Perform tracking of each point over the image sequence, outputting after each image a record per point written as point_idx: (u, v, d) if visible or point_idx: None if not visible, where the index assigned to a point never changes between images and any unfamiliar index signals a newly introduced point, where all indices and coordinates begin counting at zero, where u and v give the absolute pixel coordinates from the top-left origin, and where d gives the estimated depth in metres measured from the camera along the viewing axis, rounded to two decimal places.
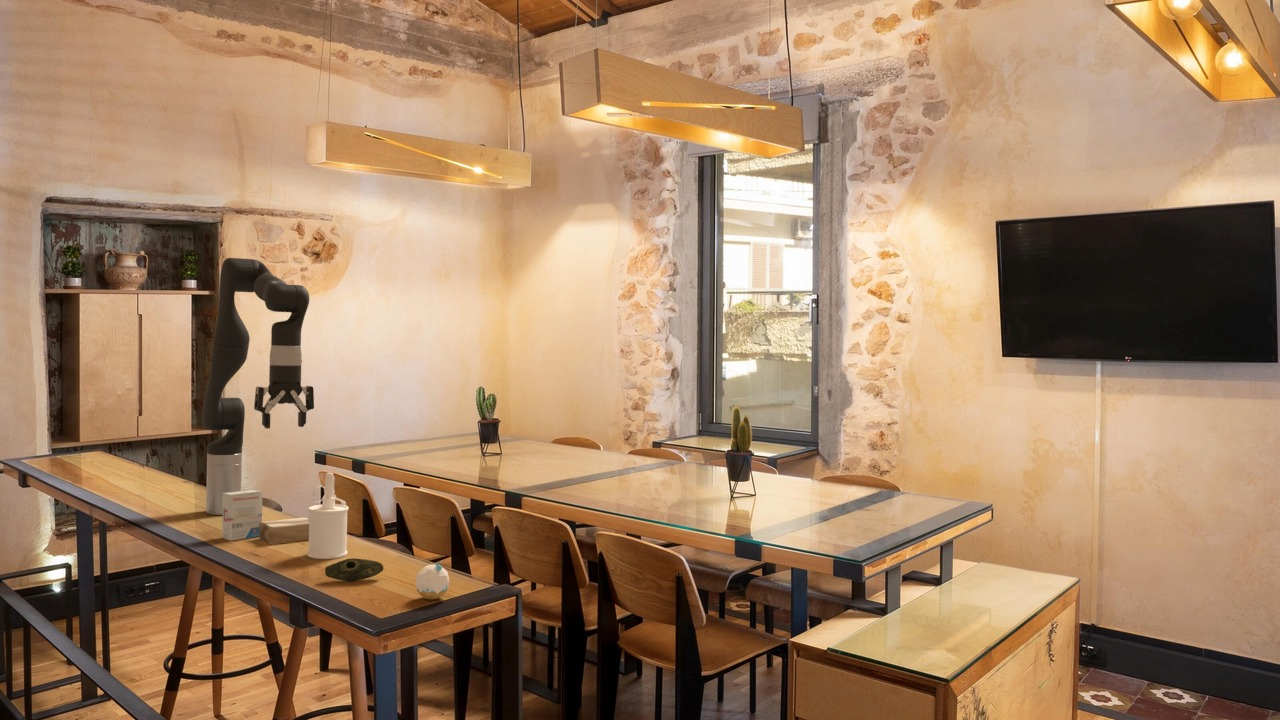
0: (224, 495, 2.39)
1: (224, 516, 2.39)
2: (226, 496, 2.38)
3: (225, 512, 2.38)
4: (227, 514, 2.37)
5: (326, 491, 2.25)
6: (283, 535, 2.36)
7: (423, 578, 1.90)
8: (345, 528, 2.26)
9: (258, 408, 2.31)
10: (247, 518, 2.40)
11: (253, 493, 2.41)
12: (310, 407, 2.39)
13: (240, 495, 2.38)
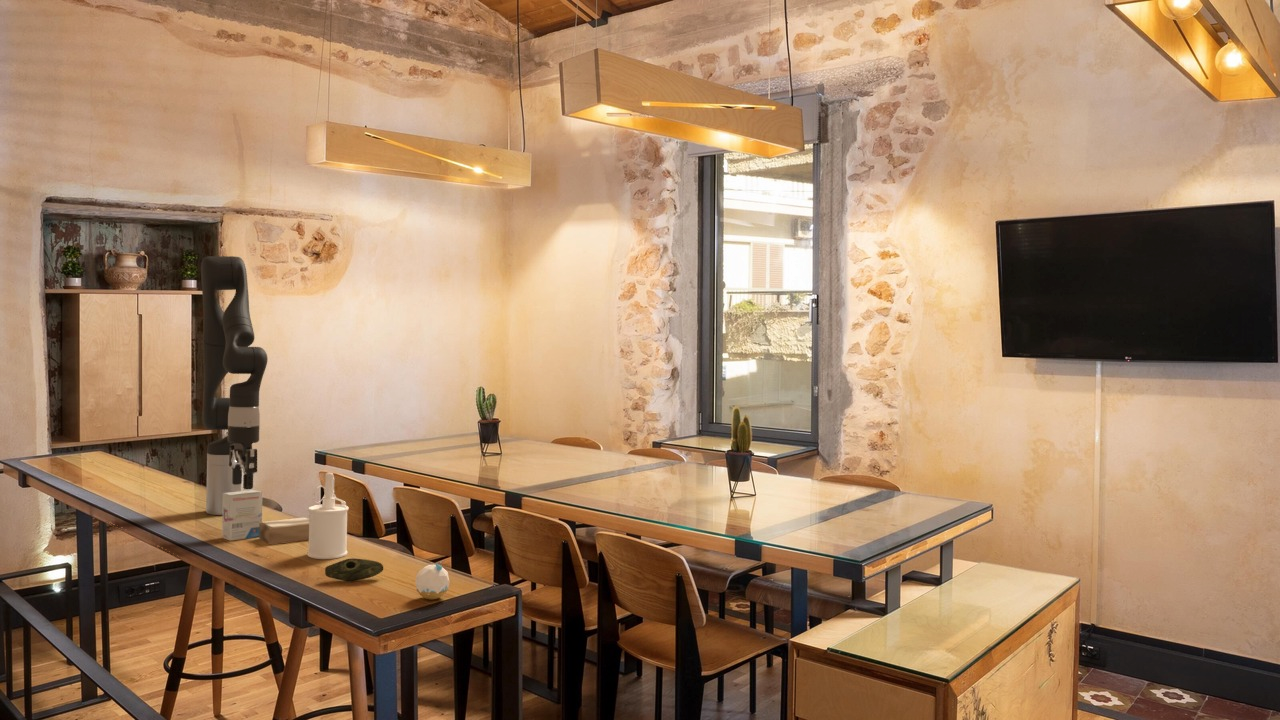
0: (224, 495, 2.39)
1: (224, 516, 2.39)
2: (226, 496, 2.38)
3: (225, 512, 2.38)
4: (227, 514, 2.37)
5: (326, 491, 2.25)
6: (283, 535, 2.36)
7: (423, 578, 1.90)
8: (345, 528, 2.26)
9: (256, 469, 2.36)
10: (247, 518, 2.40)
11: (253, 493, 2.41)
12: None
13: (240, 495, 2.38)
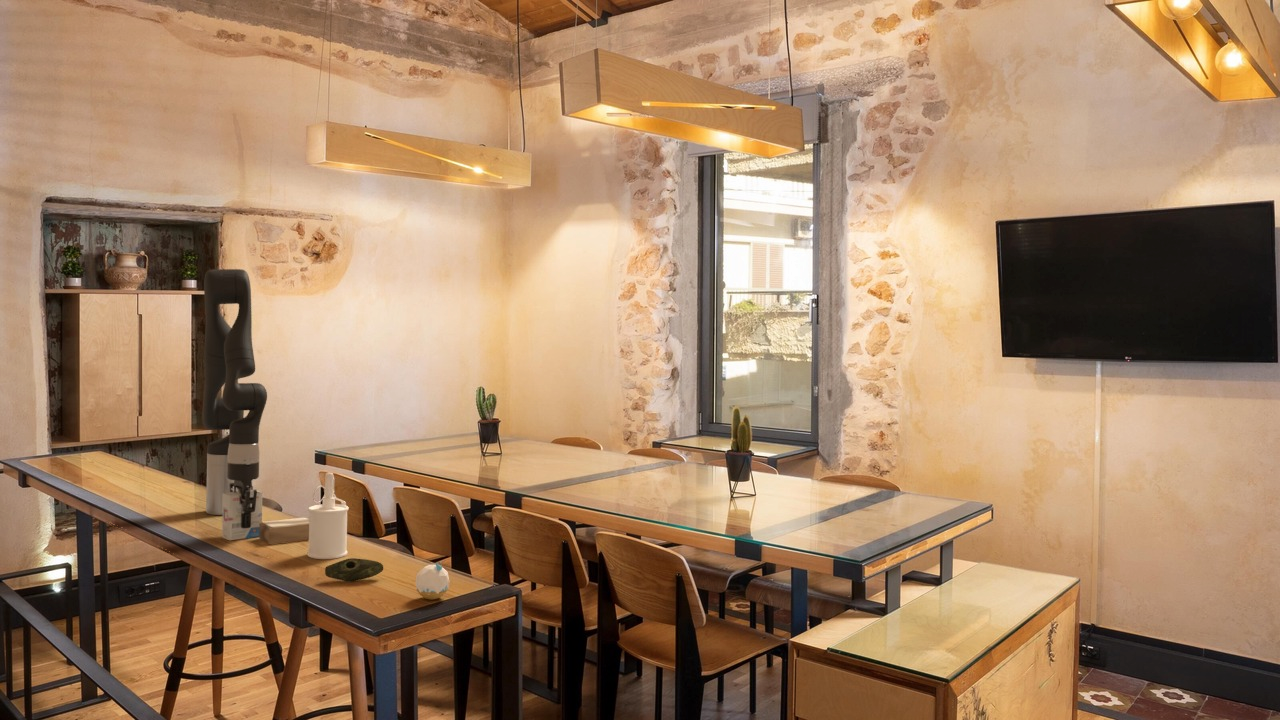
0: (224, 495, 2.39)
1: (224, 516, 2.39)
2: (226, 496, 2.38)
3: (225, 512, 2.38)
4: (227, 514, 2.37)
5: (326, 491, 2.25)
6: (283, 535, 2.36)
7: (423, 578, 1.90)
8: (345, 528, 2.26)
9: (254, 509, 2.38)
10: None
11: None
12: None
13: None
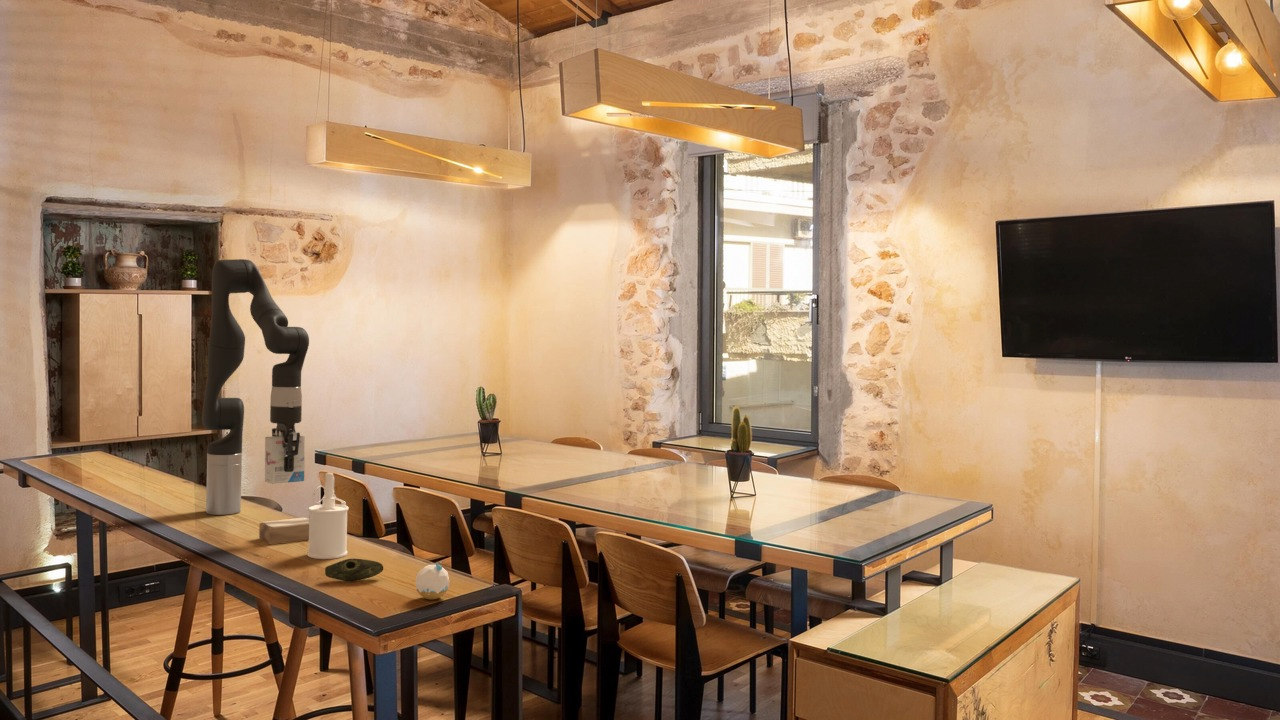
0: (267, 438, 2.38)
1: (266, 460, 2.38)
2: (269, 439, 2.37)
3: (268, 456, 2.37)
4: (270, 457, 2.36)
5: (326, 491, 2.25)
6: (283, 535, 2.36)
7: (423, 578, 1.90)
8: (345, 528, 2.26)
9: (297, 452, 2.37)
10: None
11: None
12: None
13: None
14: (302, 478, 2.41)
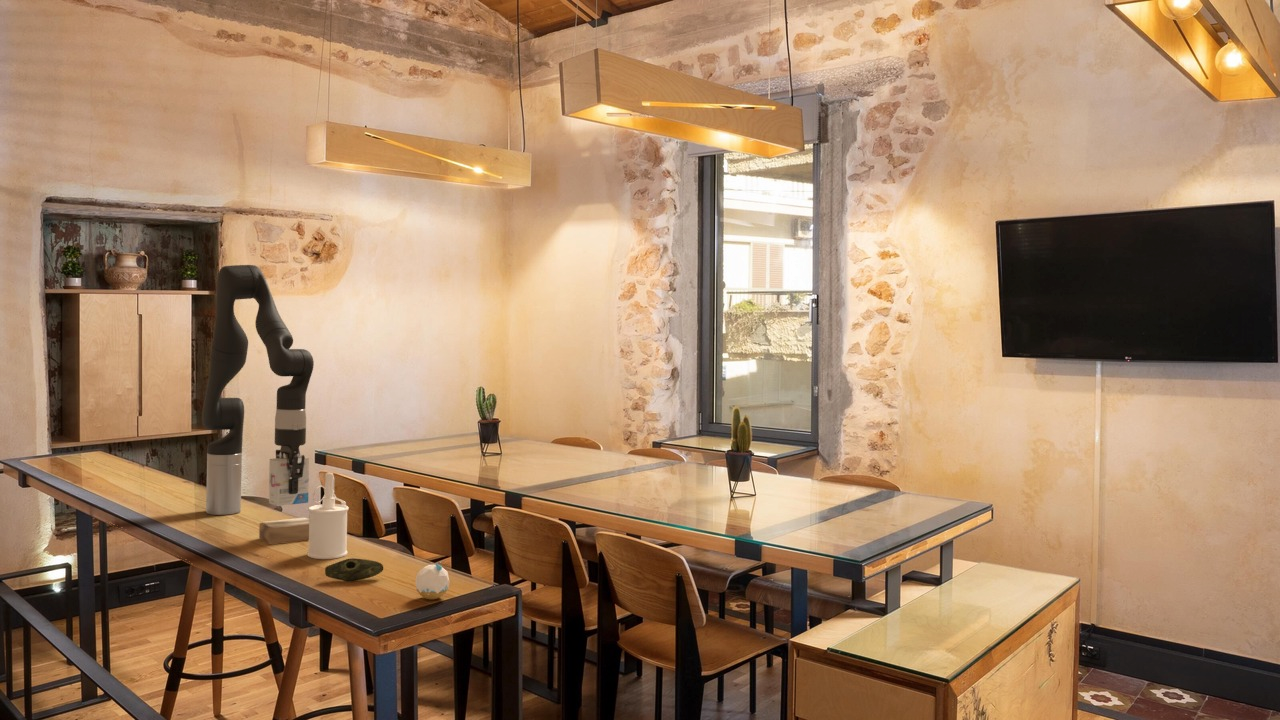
0: (271, 461, 2.39)
1: (271, 482, 2.39)
2: (274, 461, 2.37)
3: (272, 478, 2.38)
4: (274, 480, 2.37)
5: (326, 491, 2.25)
6: (283, 535, 2.36)
7: (423, 578, 1.90)
8: (345, 528, 2.26)
9: None
10: None
11: None
12: None
13: None
14: (306, 500, 2.42)
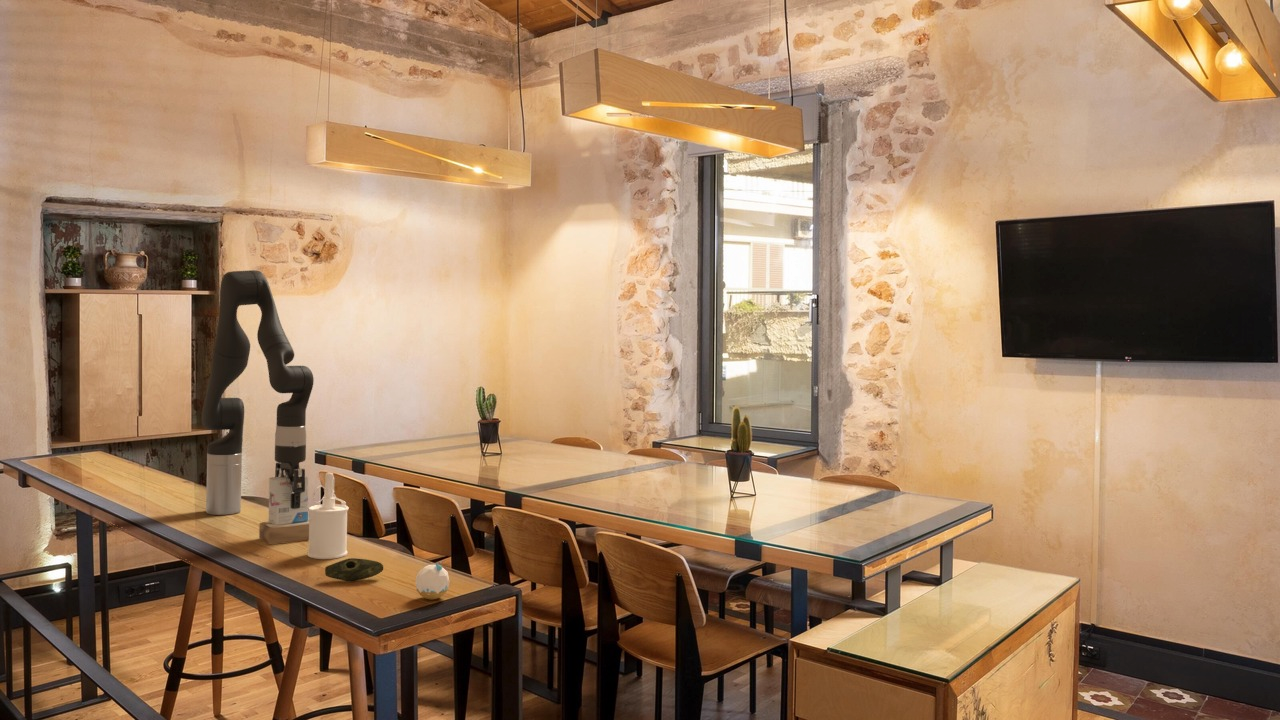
0: (271, 480, 2.39)
1: (270, 501, 2.39)
2: (273, 480, 2.38)
3: (272, 497, 2.38)
4: (274, 499, 2.37)
5: (326, 491, 2.25)
6: (283, 535, 2.36)
7: (423, 578, 1.90)
8: (345, 528, 2.26)
9: (304, 489, 2.37)
10: None
11: None
12: None
13: None
14: (306, 518, 2.42)
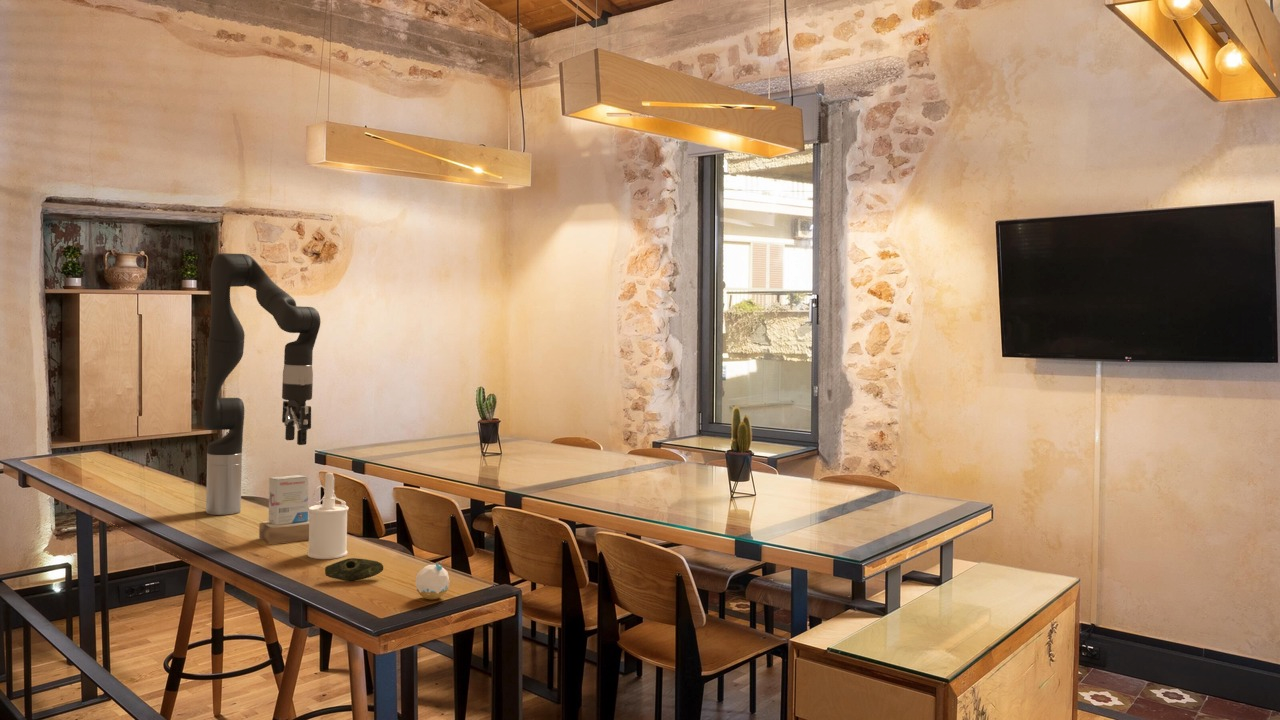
0: (271, 480, 2.39)
1: (270, 501, 2.39)
2: (273, 480, 2.38)
3: (272, 497, 2.38)
4: (274, 499, 2.37)
5: (326, 491, 2.25)
6: (283, 535, 2.36)
7: (423, 578, 1.90)
8: (345, 528, 2.26)
9: (310, 426, 2.44)
10: (293, 503, 2.40)
11: (299, 478, 2.41)
12: None
13: (286, 480, 2.38)
14: (306, 518, 2.42)
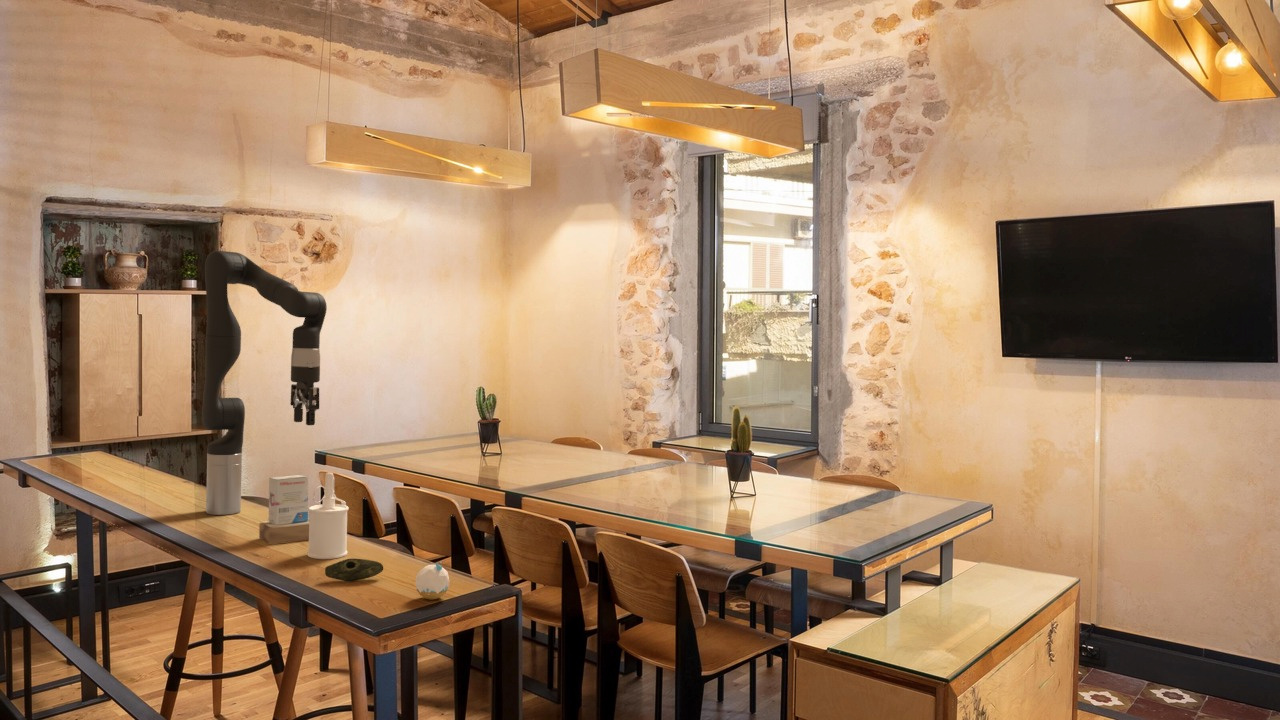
0: (271, 480, 2.39)
1: (270, 501, 2.39)
2: (273, 480, 2.38)
3: (272, 497, 2.38)
4: (274, 499, 2.37)
5: (326, 491, 2.25)
6: (283, 535, 2.36)
7: (423, 578, 1.90)
8: (345, 528, 2.26)
9: None
10: (293, 503, 2.40)
11: (299, 478, 2.41)
12: None
13: (286, 480, 2.38)
14: (306, 518, 2.42)
